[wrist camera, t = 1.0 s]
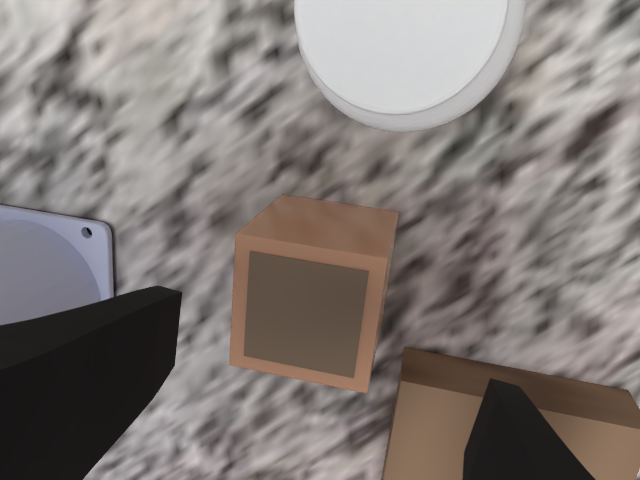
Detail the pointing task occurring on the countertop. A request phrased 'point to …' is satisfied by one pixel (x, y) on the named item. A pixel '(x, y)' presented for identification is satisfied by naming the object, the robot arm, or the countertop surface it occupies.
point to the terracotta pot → (312, 290)
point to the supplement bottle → (407, 56)
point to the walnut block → (463, 405)
